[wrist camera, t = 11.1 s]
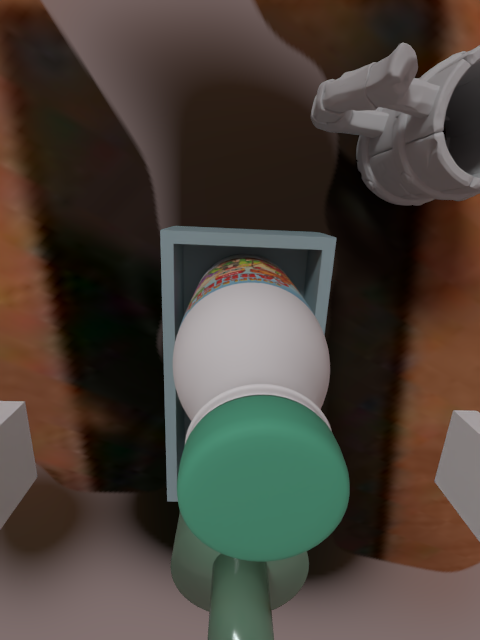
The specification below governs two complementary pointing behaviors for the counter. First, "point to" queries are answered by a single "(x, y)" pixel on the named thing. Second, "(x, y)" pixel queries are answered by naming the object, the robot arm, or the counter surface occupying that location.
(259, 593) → the green bottle
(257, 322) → the milk bottle
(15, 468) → the robot arm
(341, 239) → the counter surface
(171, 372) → the crate
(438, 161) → the mug
